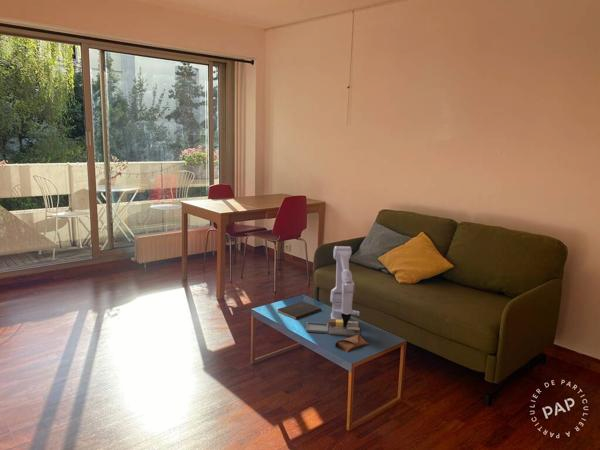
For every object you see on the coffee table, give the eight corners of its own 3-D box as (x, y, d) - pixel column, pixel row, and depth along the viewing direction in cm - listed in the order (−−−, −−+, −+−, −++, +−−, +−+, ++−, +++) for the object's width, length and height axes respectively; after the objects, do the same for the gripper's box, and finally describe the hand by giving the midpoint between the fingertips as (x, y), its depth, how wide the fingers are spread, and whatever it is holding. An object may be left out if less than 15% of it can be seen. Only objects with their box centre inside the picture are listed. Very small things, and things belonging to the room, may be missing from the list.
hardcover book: (277, 312, 287) (277, 309, 287) (302, 304, 304) (302, 300, 304) (296, 320, 277) (296, 316, 276) (321, 311, 294) (321, 308, 293)
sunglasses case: (347, 352, 238) (343, 339, 239) (337, 354, 243) (333, 342, 244) (370, 344, 250) (366, 331, 251) (360, 346, 255) (356, 334, 256)
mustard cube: (335, 325, 267) (335, 319, 266) (342, 326, 267) (342, 319, 266) (335, 328, 263) (335, 322, 262) (342, 329, 263) (343, 322, 262)
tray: (306, 324, 271) (306, 321, 271) (327, 325, 271) (327, 323, 270) (306, 331, 260) (306, 329, 260) (327, 333, 260) (328, 331, 260)
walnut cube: (328, 325, 267) (328, 318, 266) (335, 325, 267) (335, 319, 266) (328, 328, 263) (328, 321, 262) (335, 328, 263) (335, 322, 262)
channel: (328, 325, 271) (328, 319, 270) (357, 327, 271) (358, 321, 270) (328, 333, 259) (329, 327, 259) (359, 336, 259) (359, 329, 258)
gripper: (334, 305, 258) (332, 328, 261) (360, 306, 258) (358, 330, 260) (333, 300, 265) (331, 323, 268) (359, 302, 265) (357, 325, 267)
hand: (345, 326), depth 265 cm, fingers closed
